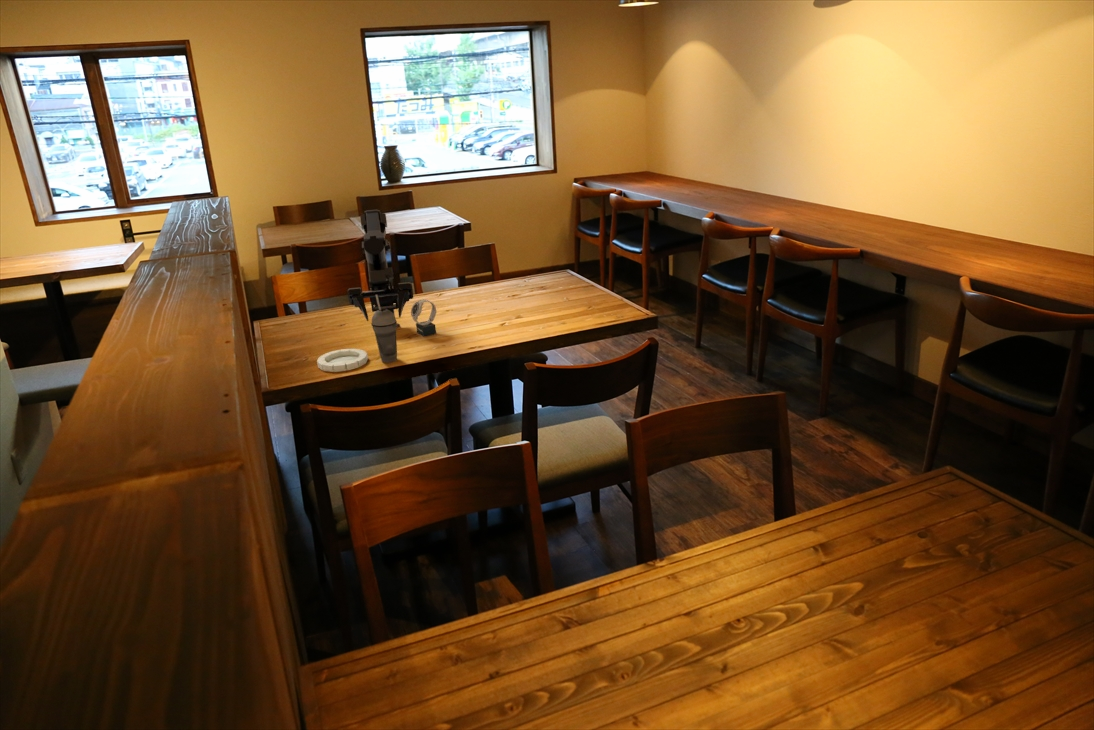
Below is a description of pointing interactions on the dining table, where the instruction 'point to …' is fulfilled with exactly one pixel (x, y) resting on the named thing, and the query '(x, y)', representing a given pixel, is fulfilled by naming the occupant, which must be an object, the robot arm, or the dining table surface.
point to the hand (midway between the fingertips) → (383, 318)
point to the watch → (427, 326)
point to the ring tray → (342, 360)
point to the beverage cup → (385, 333)
